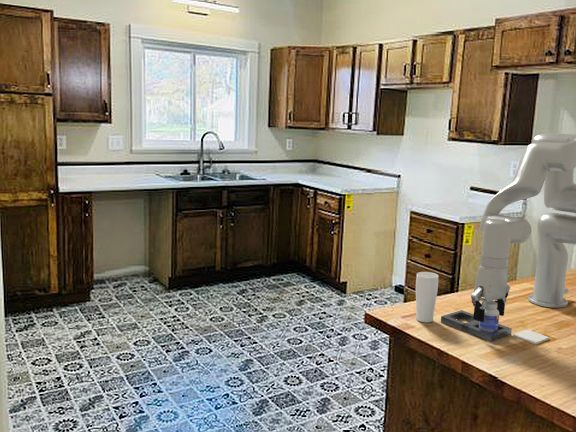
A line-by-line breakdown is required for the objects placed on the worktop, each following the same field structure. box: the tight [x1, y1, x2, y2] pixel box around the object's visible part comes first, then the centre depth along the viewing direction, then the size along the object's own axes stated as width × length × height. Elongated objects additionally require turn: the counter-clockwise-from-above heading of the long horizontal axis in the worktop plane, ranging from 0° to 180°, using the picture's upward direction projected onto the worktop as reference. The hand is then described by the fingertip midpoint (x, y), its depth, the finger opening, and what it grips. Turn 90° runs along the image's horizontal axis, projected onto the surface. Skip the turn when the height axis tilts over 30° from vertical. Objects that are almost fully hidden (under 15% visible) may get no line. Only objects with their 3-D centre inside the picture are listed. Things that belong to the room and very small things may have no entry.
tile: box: [512, 329, 550, 346], centre depth 159 cm, size 7×7×1 cm
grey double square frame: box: [440, 309, 513, 343], centre depth 165 cm, size 10×18×2 cm, turn 35°
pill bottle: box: [479, 300, 500, 333], centre depth 161 cm, size 5×5×10 cm
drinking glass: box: [415, 271, 439, 323], centre depth 170 cm, size 7×7×15 cm
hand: (488, 317), depth 161 cm, fingers open, 9 cm apart
